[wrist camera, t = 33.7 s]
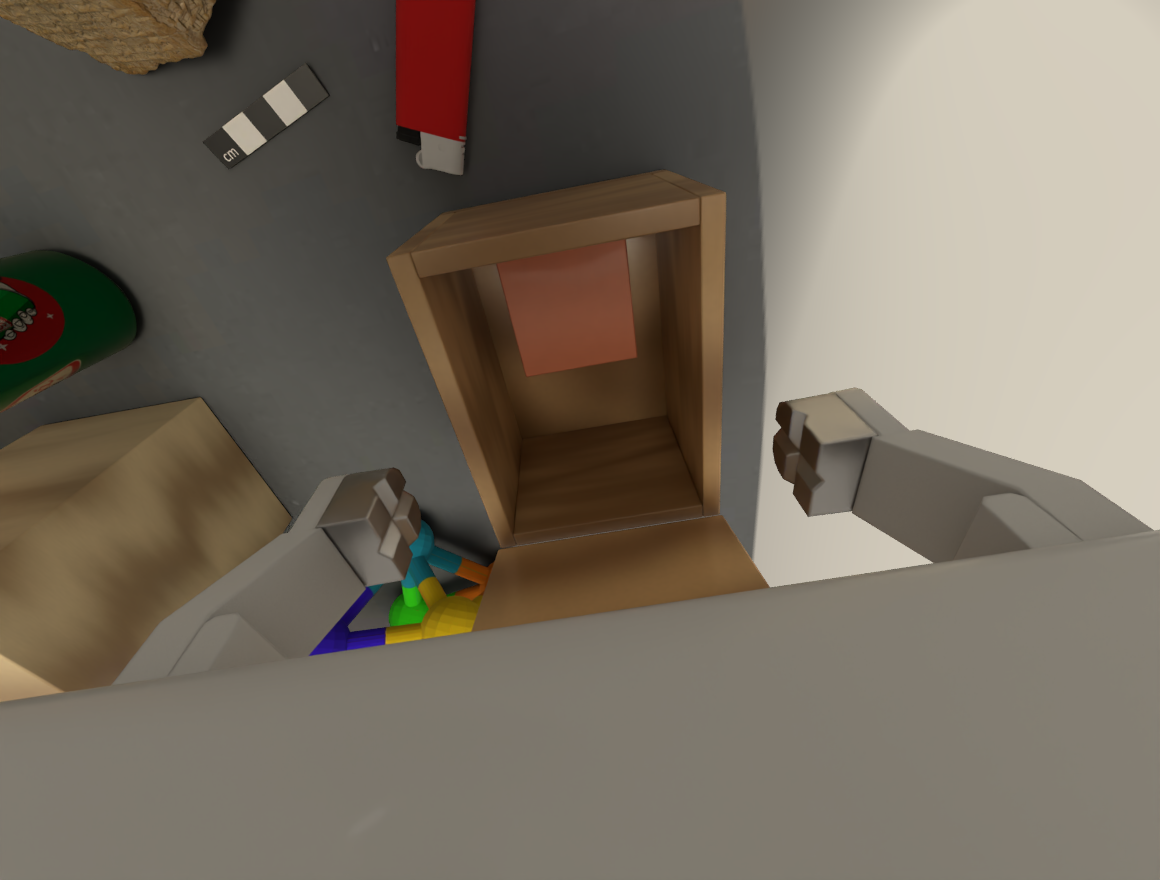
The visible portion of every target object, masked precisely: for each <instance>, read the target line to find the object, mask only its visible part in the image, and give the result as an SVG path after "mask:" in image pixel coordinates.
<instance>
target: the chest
mask: <svg viewBox="0 0 1160 880" xmlns="http://www.w3.org/2000/svg"><path fill="white" fill-rule="evenodd" d="M725 232H726V192H723V191H721V190H718V189H715V188H713V187H710V186H708V185H705V184H702V183H700V182H697V181H694V180H692V179H689V178H686V177H684V176H681V175H679V174H676V173H673V172H671V171H668V170H665V169H663V170H658V171H653V172H648V173H643V174H637V175H632V176H627V177H622V178H617V179H612V180H607V181H602V182H597V183H592V184H586V185H581V186H576V187H571V188H566V189H561V190H556V191H551V192H546V193H540V194H535V195H530V196H525V197H520V198H515V199H510V200H505V201H500V202H495V203H489V204H484V205H479V206H474V207H469V208H464V209H459V210H454V211H449V212H444V213H442V214H441V215H439V216H438V217H437V218H435V219H434V220H433V221H432V222H430V223H429V224H428V225H427V226H425V227H424V228H423V229H422V230H420V231H419V232H418V233H417V234H415V235H414V236H413V237H411V238H410V239H409V240H408V241H406V242H405V243H404V244H403V245H401V246H400V247H399V248H398V249H396V250H395V251H394V252H393V253H391V254H390V255H389V256H387V257H386V260H387V262H388V265H389V267H390V270H391V272H392V275H393V277H394V280H395V282H396V285H397V287H398V290H399V293H400V295H401V298H402V300H403V303H404V305H405V308H406V310H407V313H408V315H409V318H410V320H411V323H412V325H413V328H414V330H415V333H416V335H417V338H418V340H419V343H420V345H421V348H422V350H423V353H424V355H425V358H426V360H427V363H428V365H429V368H430V371H431V373H432V376H433V378H434V381H435V383H436V386H437V388H438V391H439V393H440V396H441V398H442V401H443V403H444V406H445V408H446V411H447V413H448V416H449V418H450V421H451V423H452V426H453V428H454V431H455V433H456V436H457V438H458V441H459V444H460V446H461V449H462V451H463V454H464V456H465V459H466V461H467V464H468V466H469V469H470V471H471V474H472V476H473V479H474V481H475V484H476V486H477V489H478V491H479V494H480V496H481V499H482V501H483V504H484V506H485V509H486V511H487V514H488V517H489V519H490V522H491V524H492V527H493V529H494V532H495V534H496V537H497V539H498V542H499V544H500V547H501V548H505V547H511V546H516V544H517V545H524V544H530V543H537V542H543V541H550V540H556V539H563V538H569V537H576V536H582V535H588V534H595V533H601V532H608V531H614V530H621V529H627V528H634V527H640V526H647V525H653V524H660V523H666V522H673V521H679V520H686V519H692V518H699V517H702V516H704V517H706V516H712V515H718V514H720V474H721V426H722V377H723V329H724V281H725ZM624 239H626V245H627V255H628V265H629V275H630V285H631V295H632V305H633V315H634V325H635V335H636V345H637V355H638V357H637V358H632V359H626V360H621V361H615V362H609V363H604V364H598V365H592V366H587V367H581V368H575V369H570V370H564V371H558V372H553V373H547V374H541V375H535V376H530V377H526V375H525V372H524V368H523V364H522V360H521V356H520V353H519V349H518V345H517V341H516V338H515V334H514V330H513V326H512V322H511V319H510V315H509V311H508V307H507V304H506V300H505V296H504V292H503V289H502V285H501V281H500V277H499V273H498V270H497V266H496V264H497V263H502V262H508V261H513V260H518V259H524V258H529V257H534V256H540V255H545V254H550V253H555V252H561V251H566V250H571V249H577V248H582V247H587V246H593V245H598V244H603V243H608V242H614V241H619V240H624Z"/></svg>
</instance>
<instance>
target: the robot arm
mask: <svg viewBox="0 0 1160 880" xmlns="http://www.w3.org/2000/svg"><path fill="white" fill-rule="evenodd" d="M776 421H777V422H778V424H779V425H780V426H781V429H780V430H779V431H778V432H777V433H776V435H775V436H774V438H773V453H774V460H775V464H776V466H777V469H778V471H779V473H780V474H781V476H782V478H783V479H784V480H786V481H788V482H790V483H792V484H794V490H793V495H794V496H795V497H796V499H797V501H798V502H799V504H800V505H801V507H802V508H803V510H804V511H805V513H806V514H807V516H808V517H810V516H817V515H825V514H833V513H840V512H848V511H852V513H853V514H855V515H856V516H858V517H859V518H861V519H863V520H864V521H866V522H868V523H869V524H871V525H872V526H874V527H876V528H877V529H879V530H881V531H882V532H884V533H886V534H888V535H889V536H891V537H892V538H894V539H895V540H897V541H899V542H900V543H902V544H904V545H905V546H907V547H909V548H910V549H912V550H913V551H915V552H917V553H918V554H920V555H922V556H923V557H925V558H927V559H928V560H930V561H932V562H933V564H926V565H919V566H912V567H906V568H899V569H892V570H886V571H880V572H873V573H865V574H859V575H852V576H845V577H839V578H832V579H825V580H819V581H812V582H805V583H798V584H791V585H784V586H778V587H771V588H764V589H757V590H751V591H744V592H737V593H730V594H723V595H717V596H710V597H703V598H696V599H690V600H683V601H676V602H669V603H662V604H656V605H649V606H642V607H636V608H629V609H622V610H615V611H609V612H602V613H595V614H588V615H582V616H575V617H568V618H561V619H555V620H548V621H541V622H535V623H528V624H521V625H514V626H508V627H501V628H494V629H487V630H481V631H474V632H467V633H460V634H454V635H447V636H440V637H434V638H427V639H420V640H413V641H407V642H400V643H393V644H386V645H380V646H373V647H366V648H359V649H353V650H346V651H339V652H332V653H326V654H319V655H312V656H309V655H310V653H311V652H312V651H313V650H314V649H315V648H316V646H317V645H318V644H319V643H320V642H321V641H322V640H323V638H324V637H325V636H326V635H327V634H328V633H329V631H330V630H331V629H332V628H333V627H334V626H335V624H336V623H337V622H338V621H339V620H340V619H341V617H342V616H343V615H344V614H345V613H346V612H347V610H348V609H349V608H350V607H351V606H352V605H353V604H354V602H355V601H356V600H357V599H358V598H359V597H360V595H361V594H362V593H363V592H364V591H365V590H366V587H367V586H373V585H378V584H384V583H389V582H394V581H400V580H405V578H406V575H407V571H408V568H409V565H410V562H411V559H412V556H413V553H412V552H411V550H410V548H409V546H410V545H411V544H412V543H413V542H414V541H415V540H416V539H417V538H418V536H419V533H420V529H421V513H420V509H419V506H418V503H417V501H416V499H415V497H414V496H412V495H411V494H409V493H407V492H406V491H404V490H403V489H404V486H405V483H406V481H405V479H404V477H403V475H402V474H401V472H400V470H398V469H396V468H387V469H380V470H373V471H367V472H360V473H353V474H349V475H341V476H335V477H329V478H326V479H324V480H322V481H321V483H320V484H319V486H318V487H317V489H316V490H315V492H314V494H313V495H312V497H311V498H310V500H309V501H308V503H307V505H306V506H305V508H304V509H303V511H302V512H301V514H300V516H299V517H298V519H297V520H296V522H295V523H294V525H293V527H292V528H291V530H290V531H289V533H285V534H281V535H279V536H278V537H277V538H275V539H274V540H272V541H271V542H270V543H268V544H267V545H266V546H264V547H263V548H261V549H260V550H259V551H257V552H256V553H255V554H253V555H252V556H250V557H249V558H248V559H246V560H245V561H244V562H242V563H241V564H239V565H238V566H237V567H235V568H234V569H233V570H231V571H230V572H228V573H227V574H226V575H224V576H223V577H222V578H220V579H219V580H217V581H216V582H215V583H213V584H212V585H211V586H209V587H208V588H206V589H205V590H204V591H202V592H201V593H200V594H198V595H197V596H195V597H194V598H193V599H191V600H190V601H189V602H187V603H186V604H184V605H183V606H182V607H180V608H179V609H178V610H176V611H175V612H173V613H172V614H171V615H169V616H168V617H167V618H165V619H164V620H162V621H161V622H160V623H159V624H158V625H157V627H156V628H155V629H154V630H153V632H152V633H151V634H150V636H149V637H148V638H147V640H146V641H145V642H144V643H143V645H142V646H141V647H140V649H139V650H138V651H137V652H136V654H135V655H134V656H133V658H132V659H131V660H130V661H129V663H128V664H127V665H126V667H125V668H124V669H123V671H122V672H121V673H120V674H119V676H118V677H117V678H116V680H115V681H114V682H113V683H112V685H110V686H103V687H97V688H90V689H83V690H76V691H70V692H63V693H56V694H50V695H43V696H36V697H29V698H23V699H16V700H9V701H2V702H0V880H1160V530H1156V531H1154V530H1153V529H1151V528H1149V527H1148V526H1147V525H1145V524H1144V523H1142V522H1141V521H1139V520H1138V519H1137V518H1135V517H1134V516H1132V515H1131V514H1129V513H1128V512H1126V511H1125V510H1123V509H1122V508H1121V507H1119V506H1118V505H1116V504H1115V503H1113V502H1112V501H1110V500H1108V499H1107V498H1106V497H1105V496H1103V495H1101V494H1100V493H1099V492H1097V491H1096V490H1094V489H1093V488H1091V487H1090V486H1089V485H1087V484H1086V483H1084V482H1083V481H1081V480H1079V479H1075V478H1072V477H1069V476H1066V475H1063V474H1059V473H1056V472H1053V471H1050V470H1046V469H1043V468H1040V467H1036V466H1034V465H1030V464H1027V463H1024V462H1021V461H1018V460H1014V459H1011V458H1008V457H1005V456H1001V455H998V454H995V453H992V452H989V451H985V450H982V449H979V448H976V447H973V446H969V445H966V444H963V443H960V442H957V441H953V440H950V439H947V438H944V437H941V436H937V435H934V434H931V433H927V432H925V431H921V430H912V431H909V430H908V429H907V428H906V427H905V426H903V425H902V424H901V423H900V422H899V421H898V420H896V419H895V418H894V417H893V416H892V415H891V414H890V413H888V412H887V411H886V410H885V409H884V408H883V407H882V406H880V405H879V404H878V403H876V401H875V400H873V399H872V398H871V397H870V396H869V395H868V394H866V393H865V392H864V391H863V390H862V389H858V388H850V389H845V390H841V391H836V392H831V393H829V394H823V395H818V396H812V397H807V398H801V399H796V400H790V401H785V402H780V403H779V405H778V407H777V411H776Z"/></svg>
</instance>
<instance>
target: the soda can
mask: <svg viewBox="0 0 1160 880" xmlns="http://www.w3.org/2000/svg"><path fill="white" fill-rule="evenodd" d="M136 330H137V325H136V316H135V313H134V310H133V307H132V305H131V303H130V301H129V299H128V298H127V296H126V295H125V294H124V292H123V291H122V290H121V289H120V287H119V286H118V285H117V284H116V283H115V282H114V281H112V280H111V279H110V278H109V277H108V276H106V275H105V274H103V273H102V272H101V271H99V270H98V269H96V268H94V267H92V266H91V265H89V264H87V263H85V262H83V261H81V260H78V259H76V258H74V257H71V256H68V255H66V254H63V253H59V252H54V251H47V250H35V251H30V252H25V253H21V254H17V255H13V256H9V257H4V258H0V413H1V412H3V411H5V410H7V409H9V408H11V407H13V406H14V405H16V404H18V403H20V402H22V401H24V400H26V399H28V398H30V397H32V396H34V395H36V394H38V393H40V392H41V391H43V390H45V389H47V388H49V387H51V386H53V385H55V384H57V383H59V382H61V381H63V380H65V379H67V378H69V377H70V376H72V375H74V374H76V373H78V372H80V371H82V370H84V369H86V368H88V367H90V366H92V365H94V364H96V363H98V362H99V361H101V360H103V359H105V358H107V357H109V356H111V355H113V354H115V353H117V352H119V351H121V350H123V349H125V348H126V347H127V346H129V345H130V344H131V343H132V341H133V340H134V338H135V335H136Z"/></svg>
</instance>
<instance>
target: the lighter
mask: <svg viewBox="0 0 1160 880" xmlns="http://www.w3.org/2000/svg"><path fill="white" fill-rule="evenodd" d="M475 1H476V0H396V125H398V132H396V139H398V140H401V141H405V142H409V143H412V144H416V145H421V148H422V150H421V151H419V152H418V153H417V154H416V161H417V163H418V165H419V166H420V167H421V168H424V169H428V168H431V169H435V170H439V171H443V172H447V173H451V174H457V175H463V168H464V153H465V147H464V145H465V140H467V137H466V126H467V112H468V98H469V84H470V71H471V57H472V43H473V29H474V15H475Z"/></svg>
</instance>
